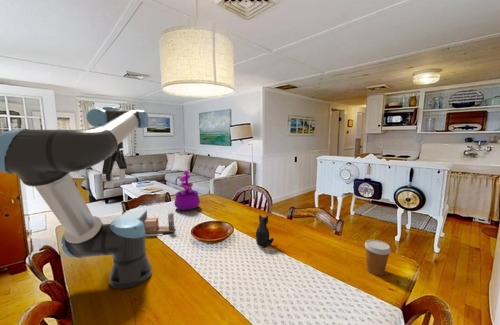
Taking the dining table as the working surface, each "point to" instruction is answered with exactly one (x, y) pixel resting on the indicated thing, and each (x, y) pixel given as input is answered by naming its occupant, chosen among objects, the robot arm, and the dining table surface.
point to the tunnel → (136, 215)
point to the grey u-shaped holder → (154, 227)
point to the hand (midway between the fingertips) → (116, 184)
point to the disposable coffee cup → (377, 256)
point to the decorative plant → (186, 194)
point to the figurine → (263, 232)
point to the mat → (154, 234)
